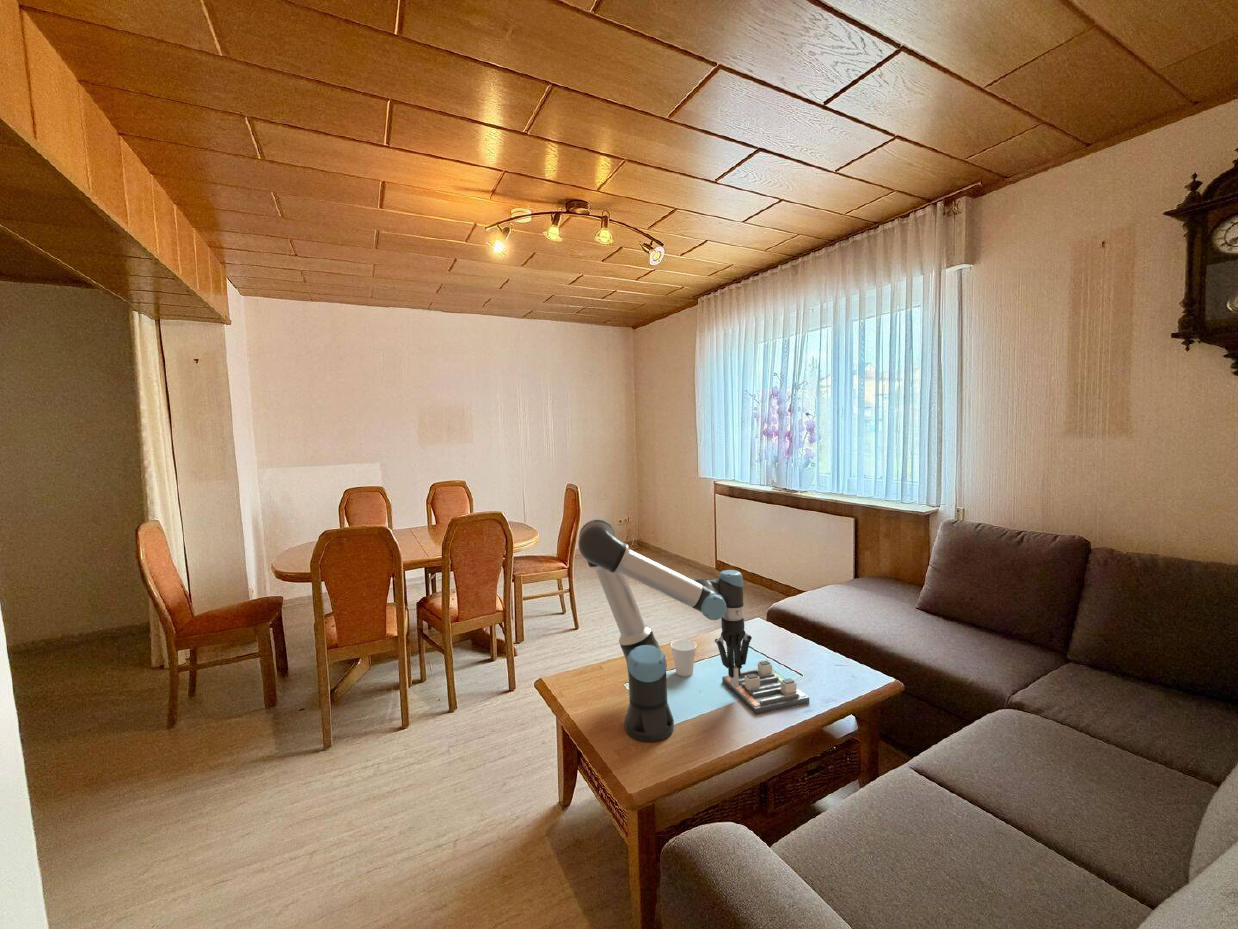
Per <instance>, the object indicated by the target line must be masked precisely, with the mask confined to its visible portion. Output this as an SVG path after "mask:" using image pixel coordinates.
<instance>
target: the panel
mask: <svg viewBox="0 0 1238 929" xmlns="http://www.w3.org/2000/svg"><path fill="white" fill-rule="evenodd" d="M740 672H741V675H740V676H739V687H738V688H734V687H733V686H732V685H731V677H730V676H729V675H726V676H722V677H721V679H722V681H721V682H722V683H723V685H725V686H726V688H727V689H729V690H730V691H731V692H732V693H733V694H734V695H735V696H736V697H737V698H738V699H739V700H740V701H741V702H742V703H743V704H744V705H745V706H746V707H747V708H748V709H749V710H750V711H751V712H752V713H753V714H754V715H755V716H757V715H761V714H767V713H771V712H775V711H781V710H786V709H789V707H790V708H794V707H798V706H797V705H799V706H803V705H808V704H810V696H808V695H807V694H806V693H804V692H803V691H802V690H801V689H799V688H798V687H797V692H796V693H791V694H786V695H784V694H782V693H781V680H784V679H786V678H785V677H784V676H782V675H781V674H780V673H778V672H777V671H775V670H774V669H773V668H772V673H771V674H766V675H761V676H760V675H759V674H758V668H757V669H751V670H745V671H744V670H743V671H740ZM749 674H756V675H757V676H758V677H759V678H760V687H759V688H754V689H749V690H747V689H746V688H745V676H746V675H749ZM807 703H808V704H807ZM793 706H794V707H793Z"/></svg>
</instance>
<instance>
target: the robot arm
mask: <svg viewBox="0 0 1238 929" xmlns="http://www.w3.org/2000/svg"><path fill="white" fill-rule="evenodd" d="M578 535H579V536H578V550H579V553H580V554H581V556H582V557H583V558H584V559H585V560H586V563H587V564H588V567H589V568H590V569H592V570H594V571H595V572H596V575H597V578H598V580H599V583H600V585H601V587H602V589H603V593H604V595H605V597H606V600H607V602H608V605H609V607H610V610H611V612H612V615H613V616H612V617H613V618H614V621H615V623H616V626H617V628H618V631H619V634H620V636H619V639H618V643H619V646H620V648H621V651H622V653H623V657H624V658H625V661H626V666H627V678H628V694H629V696H628V697H629V703H628V704H629V705H628V707H627V711H626V714H625V718H624V730H625V733H626V734H627V735H628V736H629V737H630V738H631V739H633V740H636V741H639V742H644V743H654V742H660V741H663V740H665V739H667V738H668V737H670V736H671V735H672V734H673V733H674V730H675V721H674V717H673V714H672V711H671V708H670V705H669V703H668V686H667V685H668V684H667V683H668V680H667V665H668V664H667V658H666V655H665V653H664V651H663V650H662V649H661V648H660V644H659V642H658V641H657V639H656V637H655V635H654V632H653V630H652V628H651V626H649V625H646V624H645V622H644V619H643V616H642V614H641V612H640V609H639V606H638V603H637V601H636V598H635V596H634V594H633V591H632V589H631V585H630V583H629V581H628V578H627V577H629V578H631V579H633V580H634V581H637V582H639V583H640V584H643V585H645V586H646V587H647V586H648V587H649V588H651V589H653V590H655V591H657V592H659V593H662V594H664V595H666V596H668V597H669V598H672V599H674V600H676V601H679V602H680V603H683V604H684V605H686V606H688V607H690V608H692V609H694V610H695V611H698V612H700V613H702V615H703V616H704V617H705V618H707V620H711V621H718V620H721V621H720V624H721V625H720V626H721V633H720V636H719V638H715V639H714V643H715V644H716V645H717V648H718V653H719V656H720V660H721V663H722V665H723V666H724V667H725V668H726V669H727V670H728V675H727V676H730V677H731V685H732V686H733V687H734V688H738V687H739V676H740V675H741V672H742V671H741V669H742V668H743V666H744V665H745V666H746V663H747V658H748V652H749V648H750V647H749V646H750V643H751V640H752V638H753V637H752V636H751V634H748V633H747V632H746V631H745V618H744V617H745V610H744V609H745V608H744V579H743V574H742V573H741V572H740V571H739V570H736V569H735V570H734V569H726V570H722V571H720V572H719V577H713V578H697V579H696V578H693V579H691V578H689V577H686V576H685V575H683V574H682V573H679V572H677V571H676V570H673V569H671V568H669V567H666V566H665V565H662V564H661V563H659V562H656V561H654V560H653V559H650V558H649V557H646V556H644V555H643V554H640V553H639V552H636V551H634V550H633V549H630V547H629V545H628V543H626V542H623V541H622V540H620V539H619V538H618V537H616V534H615V529H614V528H613V526H612V524H610V523H609V522H607V521H606V520H603V519H598V518H597V519H591V520H589V521H587V522H585V524H584V525H583V526H582V527H581V529H580V531H579V534H578ZM724 642H725V643H724ZM724 644H725V645H726V648H725V646H724Z"/></svg>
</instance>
